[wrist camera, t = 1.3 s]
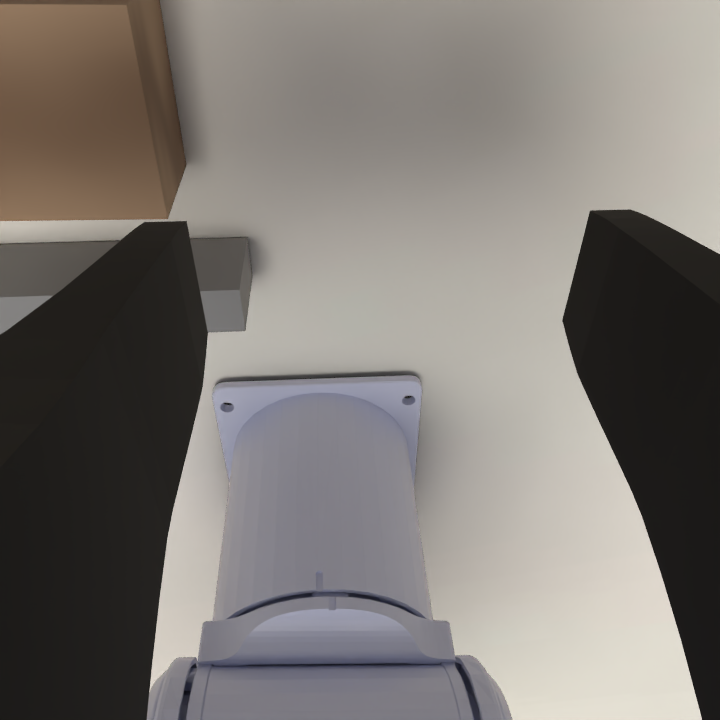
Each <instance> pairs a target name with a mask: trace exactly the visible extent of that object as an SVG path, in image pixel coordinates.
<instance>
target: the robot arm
mask: <svg viewBox="0 0 720 720" xmlns="http://www.w3.org/2000/svg"><path fill="white" fill-rule="evenodd" d="M563 324H564V328H565V332H566V336H567V339H568V343H569V347H570V350H571V354H572V357H573V360H574V364H575V367H576V370H577V373H578V376H579V378H580V380H581V382H582V385H583V387H584V389H585V391H586V394H587V396H588V398H589V400H590V402H591V405H592V407H593V409H594V411H595V413H596V416H597V418H598V420H599V422H600V424H601V426H602V428H603V431H604V433H605V435H606V437H607V439H608V441H609V443H610V445H611V448H612V450H613V452H614V454H615V456H616V458H617V460H618V463H619V465H620V467H621V469H622V471H623V473H624V475H625V478H626V480H627V482H628V484H629V486H630V488H631V491H632V493H633V495H634V498H635V500H636V503H637V505H638V508H639V510H640V512H641V515H642V518H643V520H644V523H645V526H646V529H647V532H648V535H649V538H650V541H651V544H652V547H653V550H654V553H655V556H656V559H657V562H658V565H659V568H660V571H661V574H662V578H663V581H664V584H665V588H666V591H667V594H668V598H669V601H670V604H671V608H672V611H673V614H674V618H675V621H676V624H677V628H678V631H679V634H680V638H681V641H682V645H683V649H684V652H685V656H686V660H687V664H688V667H689V671H690V675H691V679H692V682H693V686H694V690H695V694H696V697H697V701H698V705H699V709H700V712H701V716H702V720H720V254H718V253H716V252H714V251H712V250H711V249H709V248H707V247H705V246H703V245H701V244H700V243H698V242H696V241H694V240H692V239H690V238H689V237H687V236H685V235H683V234H681V233H679V232H678V231H676V230H674V229H672V228H670V227H668V226H666V225H664V224H662V223H660V222H658V221H656V220H654V219H652V218H650V217H648V216H646V215H643V214H641V213H638V212H636V211H633V210H596V211H590V213H589V217H588V221H587V225H586V229H585V233H584V237H583V241H582V245H581V249H580V253H579V257H578V261H577V265H576V269H575V273H574V277H573V281H572V285H571V289H570V293H569V297H568V301H567V305H566V308H565V312H564V316H563ZM207 336H208V330H207V325H206V320H205V315H204V310H203V304H202V299H201V294H200V289H199V284H198V278H197V273H196V268H195V263H194V258H193V252H192V247H191V242H190V237H189V232H188V227H187V221H176V222H144V223H143V224H141V225H140V226H138V227H137V228H136V229H134V230H133V231H132V232H130V233H129V234H128V235H127V236H125V237H124V238H123V239H122V240H121V241H119V242H118V243H117V244H116V245H115V246H113V247H112V248H111V249H110V250H109V251H108V252H106V253H105V254H104V255H103V256H102V257H100V258H99V259H98V260H97V261H96V262H94V263H93V264H92V265H91V266H90V267H88V268H87V269H86V270H85V271H84V272H82V273H81V274H80V275H79V276H78V277H76V278H75V279H74V280H73V281H71V282H70V283H69V284H68V285H67V286H65V287H64V288H63V289H62V290H60V291H59V292H58V293H56V294H55V295H54V296H52V297H51V298H50V299H48V300H47V301H46V302H44V303H43V304H42V305H40V306H39V307H38V308H36V309H35V310H33V311H32V312H31V313H29V314H28V315H27V316H25V317H24V318H23V319H21V320H20V321H19V322H17V323H16V324H15V325H13V326H12V327H11V328H9V329H8V330H6V331H5V332H3V333H2V334H1V335H0V720H512V717H511V713H510V710H509V707H508V705H507V702H506V700H505V697H504V695H503V693H502V691H501V689H500V688H499V686H498V684H497V683H496V682H495V681H494V679H493V678H492V677H491V676H490V675H489V674H488V673H487V671H486V670H485V668H484V667H483V665H482V664H481V663H480V662H479V661H478V660H477V659H476V658H474V657H473V656H470V655H455V654H454V648H453V642H452V636H451V630H450V624H449V622H447V621H439V620H433V617H432V610H431V603H430V597H429V590H428V583H427V576H426V569H425V563H424V556H423V549H422V542H421V535H420V529H419V522H418V515H417V508H416V501H415V495H414V481H415V469H416V457H417V445H418V433H419V421H420V409H421V397H422V387H421V381H420V380H419V379H418V378H417V377H415V376H411V375H403V376H376V377H348V378H321V379H294V380H267V381H239V382H222V383H219V384H217V385H216V386H215V387H214V388H213V394H212V399H213V404H214V409H215V414H216V419H217V424H218V429H219V434H220V439H221V444H222V449H223V454H224V459H225V464H226V469H227V474H228V479H229V491H228V499H227V507H226V515H225V524H224V532H223V540H222V548H221V556H220V564H219V573H218V581H217V589H216V597H215V605H214V613H213V621H206V622H204V623H203V625H202V633H201V640H200V647H199V655H198V662H197V659H196V657H179V658H176V659H175V660H174V661H173V662H172V663H171V664H170V666H169V668H168V670H166V671H165V672H164V673H163V674H162V675H161V676H160V677H159V678H158V679H157V680H156V681H155V683H154V684H153V686H152V688H151V690H150V692H149V689H150V679H151V668H152V659H153V650H154V641H155V633H156V624H157V615H158V606H159V597H160V590H161V582H162V574H163V567H164V559H165V551H166V544H167V537H168V532H169V527H170V521H171V516H172V511H173V507H174V503H175V499H176V495H177V490H178V486H179V482H180V478H181V474H182V470H183V466H184V462H185V458H186V454H187V450H188V446H189V442H190V438H191V434H192V430H193V425H194V421H195V417H196V413H197V409H198V404H199V400H200V396H201V391H202V387H203V378H204V369H205V359H206V347H207ZM405 396H412V397H411V398H404V397H405ZM226 402H227V403H231V404H232V405H225V404H223V403H226Z"/></svg>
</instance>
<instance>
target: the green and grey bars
mask: <svg viewBox="0 0 720 720" xmlns="http://www.w3.org/2000/svg"><path fill="white" fill-rule="evenodd" d="M118 242H119V241H100V242H63V243H27V244H0V335H1V334H2V333H3V332H5V331H6V330H8V329H9V328H11V327H12V326H13V325H15V324H16V323H17V322H19V321H20V320H21V319H23V318H24V317H25V316H27V315H28V314H29V313H31V312H32V311H33V310H35V309H36V308H38V307H39V306H40V305H42V304H43V303H44V302H46V301H47V300H48V299H50V298H51V297H52V296H54V295H55V294H56V293H58V292H59V291H60V290H62V289H63V288H64V287H65V286H67V285H68V284H69V283H70V282H71V281H73V280H74V279H75V278H76V277H78V276H79V275H80V274H81V273H82V272H84V271H85V270H86V269H87V268H88V267H90V266H91V265H92V264H93V263H94V262H96V261H97V260H98V259H99V258H100V257H102V256H103V255H104V254H105V253H106V252H108V251H109V250H110V249H111V248H112V247H113V246H115V245H116V244H117V243H118ZM190 242H191V247H192V252H193V258H194V263H195V268H196V273H197V278H198V284H199V289H200V294H201V299H202V304H203V310H204V315H205V320H206V325H207V330H208V332H232V331H245V330H246V322H247V314H248V306H249V298H250V291H251V283H252V271H251V263H250V255H249V247H248V239H247V237H244V238H208V239H190Z"/></svg>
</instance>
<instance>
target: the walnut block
mask: <svg viewBox="0 0 720 720" xmlns="http://www.w3.org/2000/svg"><path fill="white" fill-rule="evenodd" d="M185 167H186V161H185V154H184V148H183V142H182V136H181V130H180V123H179V117H178V111H177V105H176V99H175V93H174V86H173V80H172V74H171V68H170V62H169V56H168V49H167V43H166V37H165V31H164V25H163V19H162V12H161V6H160V0H0V221H38V220H121V219H168V216H169V213H170V211H171V208H172V205H173V202H174V199H175V196H176V193H177V190H178V188H179V185H180V182H181V179H182V176H183V173H184V170H185Z"/></svg>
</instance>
